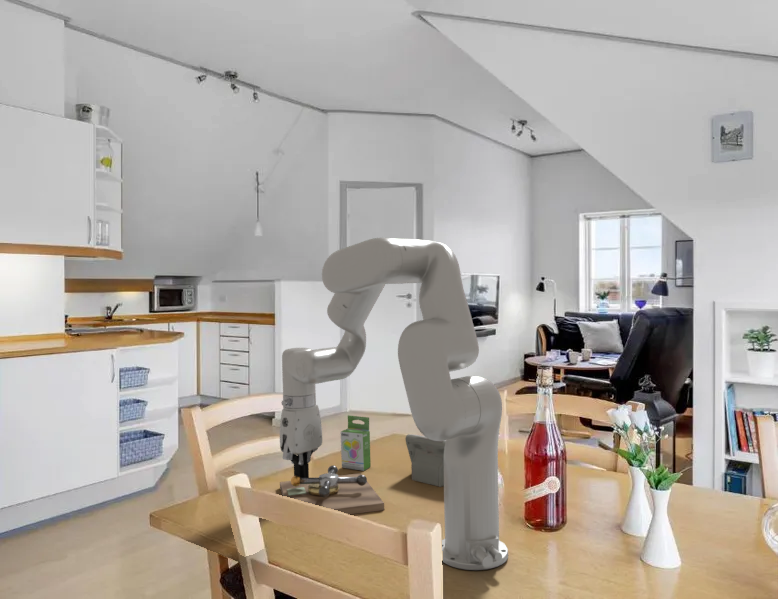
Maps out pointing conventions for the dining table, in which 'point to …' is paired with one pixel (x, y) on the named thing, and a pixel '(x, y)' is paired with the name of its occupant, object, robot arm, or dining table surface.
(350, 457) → the ink box
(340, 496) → the stand
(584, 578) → the dining table surface
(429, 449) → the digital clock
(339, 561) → the dining table surface
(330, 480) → the capstan
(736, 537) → the dining table surface
